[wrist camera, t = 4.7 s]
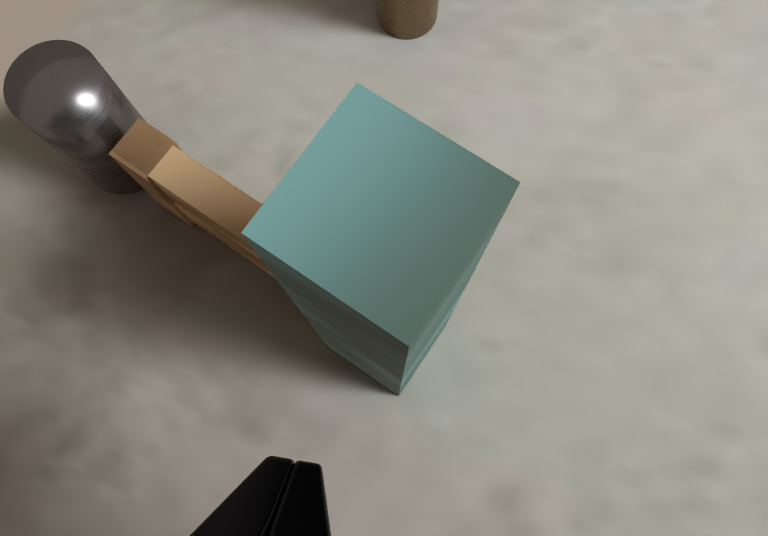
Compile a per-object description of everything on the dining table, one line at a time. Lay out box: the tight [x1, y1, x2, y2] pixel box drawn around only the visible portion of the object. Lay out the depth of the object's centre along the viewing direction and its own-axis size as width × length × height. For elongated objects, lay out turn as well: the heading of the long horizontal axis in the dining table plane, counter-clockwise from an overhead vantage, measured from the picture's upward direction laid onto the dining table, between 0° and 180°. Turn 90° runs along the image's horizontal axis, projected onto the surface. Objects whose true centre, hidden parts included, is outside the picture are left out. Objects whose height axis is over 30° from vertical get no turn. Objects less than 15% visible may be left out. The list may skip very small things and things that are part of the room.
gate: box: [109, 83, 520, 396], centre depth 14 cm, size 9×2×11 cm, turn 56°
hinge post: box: [3, 40, 146, 194], centre depth 18 cm, size 2×2×4 cm
